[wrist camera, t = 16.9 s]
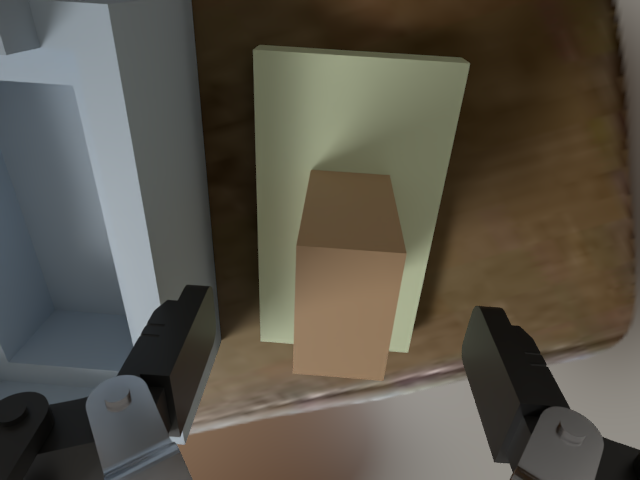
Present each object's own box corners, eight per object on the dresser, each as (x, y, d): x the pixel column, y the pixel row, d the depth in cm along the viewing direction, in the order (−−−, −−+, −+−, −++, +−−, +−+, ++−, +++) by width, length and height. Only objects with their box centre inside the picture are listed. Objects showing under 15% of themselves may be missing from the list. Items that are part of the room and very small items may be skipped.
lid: (265, 319, 23) (236, 444, 17) (260, 43, 16) (207, 83, 10) (404, 329, 22) (425, 459, 16) (459, 55, 16) (530, 104, 10)
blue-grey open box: (36, 326, 23) (-77, 451, 17) (-191, -277, 12) (-768, -551, 6) (221, 340, 23) (174, 472, 17) (168, -258, 12) (-31, -523, 6)
